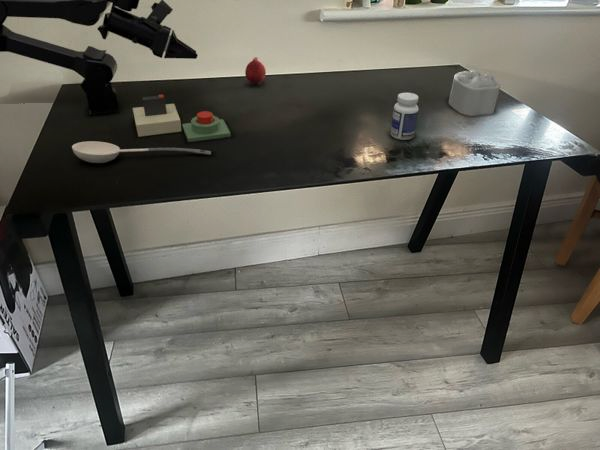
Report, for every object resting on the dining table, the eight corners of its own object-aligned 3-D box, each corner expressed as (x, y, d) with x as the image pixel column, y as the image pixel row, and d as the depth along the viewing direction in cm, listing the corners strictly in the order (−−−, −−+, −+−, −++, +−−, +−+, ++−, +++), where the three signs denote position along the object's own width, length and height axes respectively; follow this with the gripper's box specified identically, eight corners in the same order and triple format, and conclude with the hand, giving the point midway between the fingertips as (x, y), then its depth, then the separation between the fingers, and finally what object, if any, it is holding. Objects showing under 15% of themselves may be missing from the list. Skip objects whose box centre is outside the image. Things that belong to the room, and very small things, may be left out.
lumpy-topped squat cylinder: (463, 116, 128) (471, 84, 123) (440, 97, 138) (446, 67, 133) (498, 113, 130) (507, 81, 125) (473, 95, 140) (480, 65, 135)
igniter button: (199, 126, 113) (198, 118, 112) (196, 119, 116) (195, 112, 115) (214, 124, 114) (213, 116, 113) (211, 118, 117) (210, 110, 116)
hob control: (138, 136, 114) (135, 124, 112) (134, 119, 121) (132, 107, 119) (181, 131, 117) (180, 119, 115) (175, 114, 124) (174, 102, 122)
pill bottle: (415, 132, 120) (422, 93, 114) (411, 142, 115) (419, 102, 109) (392, 128, 121) (398, 89, 115) (387, 138, 117) (393, 98, 111)
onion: (265, 89, 139) (264, 61, 135) (244, 88, 139) (243, 60, 135) (266, 81, 144) (266, 54, 139) (246, 81, 144) (245, 53, 139)
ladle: (75, 153, 105) (74, 132, 103) (208, 164, 112) (210, 145, 110) (69, 166, 100) (68, 145, 98) (209, 177, 108) (211, 157, 105)
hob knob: (145, 116, 116) (142, 99, 113) (144, 113, 117) (141, 96, 114) (167, 113, 117) (164, 96, 115) (166, 110, 118) (163, 94, 116)
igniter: (188, 142, 112) (186, 130, 110) (182, 127, 118) (181, 116, 116) (230, 136, 115) (230, 125, 113) (223, 122, 121) (222, 111, 119)
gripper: (139, -9, 104) (210, 23, 109) (144, -7, 120) (205, 21, 126) (124, 43, 107) (193, 71, 112) (131, 38, 123) (191, 63, 129)
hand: (196, 54), depth 120 cm, fingers open, 9 cm apart
